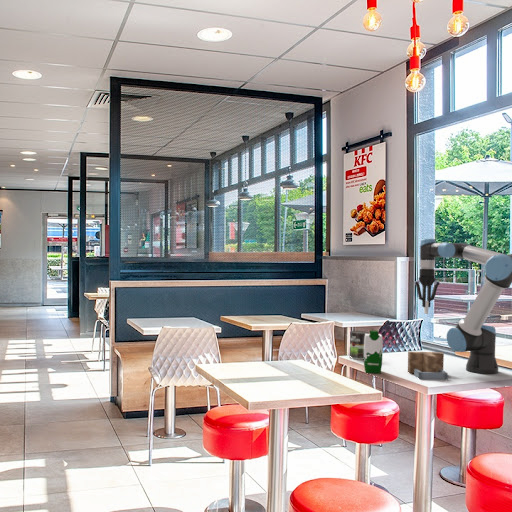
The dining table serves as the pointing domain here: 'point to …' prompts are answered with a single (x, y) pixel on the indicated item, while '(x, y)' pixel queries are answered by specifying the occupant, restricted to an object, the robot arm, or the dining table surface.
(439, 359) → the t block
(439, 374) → the tray
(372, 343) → the milk carton
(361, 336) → the coffee can
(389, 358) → the dining table surface
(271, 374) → the dining table surface
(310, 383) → the dining table surface
